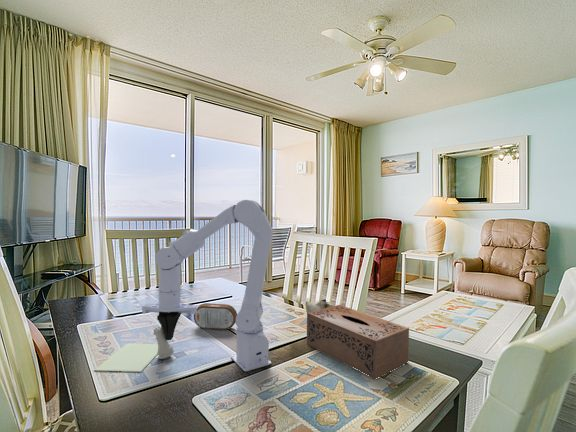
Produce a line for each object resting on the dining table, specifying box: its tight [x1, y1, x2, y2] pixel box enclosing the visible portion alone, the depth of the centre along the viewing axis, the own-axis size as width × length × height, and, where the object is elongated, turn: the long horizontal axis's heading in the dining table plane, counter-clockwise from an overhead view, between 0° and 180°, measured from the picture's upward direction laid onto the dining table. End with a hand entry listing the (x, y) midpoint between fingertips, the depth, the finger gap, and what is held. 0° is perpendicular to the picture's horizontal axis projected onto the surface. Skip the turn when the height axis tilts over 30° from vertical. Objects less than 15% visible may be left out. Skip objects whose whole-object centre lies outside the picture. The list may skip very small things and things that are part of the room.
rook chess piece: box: [152, 325, 175, 360], centre depth 89 cm, size 4×4×8 cm
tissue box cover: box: [306, 304, 410, 380], centre depth 94 cm, size 26×14×10 cm, turn 38°
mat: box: [93, 342, 158, 373], centre depth 90 cm, size 12×16×1 cm
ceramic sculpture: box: [305, 299, 336, 314], centre depth 119 cm, size 11×9×15 cm
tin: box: [193, 302, 238, 331], centre depth 111 cm, size 15×3×8 cm, turn 84°
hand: (169, 338), depth 89 cm, fingers closed
